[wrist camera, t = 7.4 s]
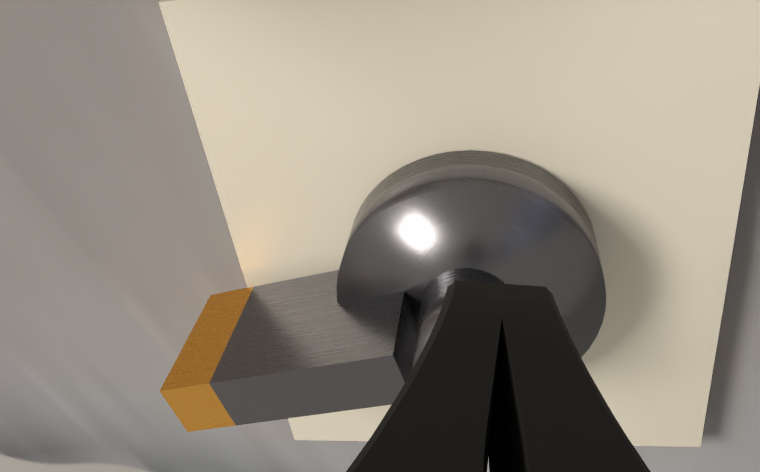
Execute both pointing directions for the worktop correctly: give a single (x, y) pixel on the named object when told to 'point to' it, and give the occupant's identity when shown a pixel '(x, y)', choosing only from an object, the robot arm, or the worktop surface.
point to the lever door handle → (389, 293)
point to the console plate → (495, 150)
